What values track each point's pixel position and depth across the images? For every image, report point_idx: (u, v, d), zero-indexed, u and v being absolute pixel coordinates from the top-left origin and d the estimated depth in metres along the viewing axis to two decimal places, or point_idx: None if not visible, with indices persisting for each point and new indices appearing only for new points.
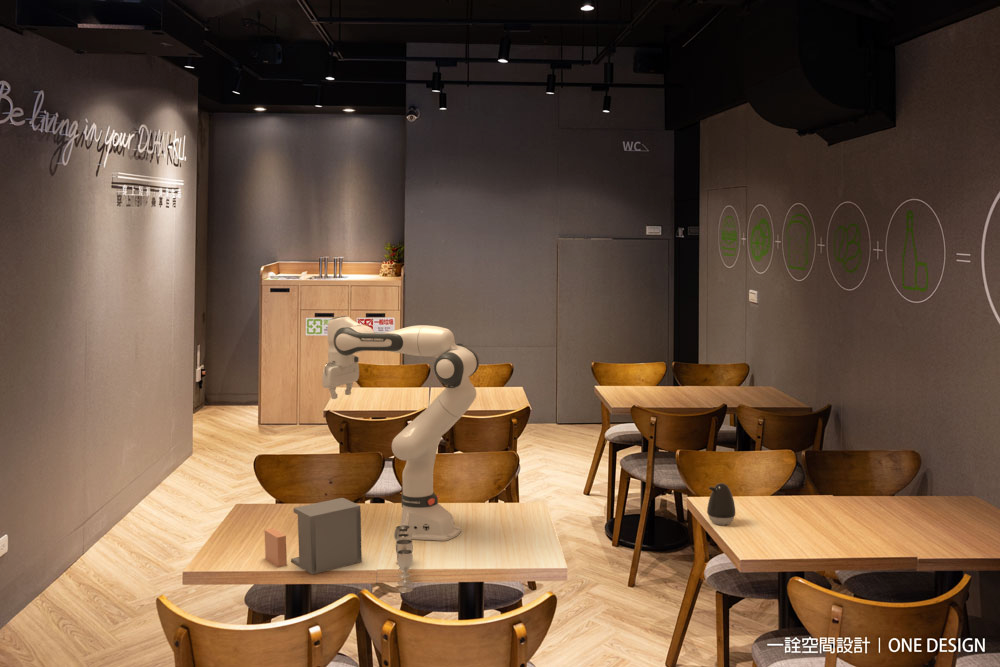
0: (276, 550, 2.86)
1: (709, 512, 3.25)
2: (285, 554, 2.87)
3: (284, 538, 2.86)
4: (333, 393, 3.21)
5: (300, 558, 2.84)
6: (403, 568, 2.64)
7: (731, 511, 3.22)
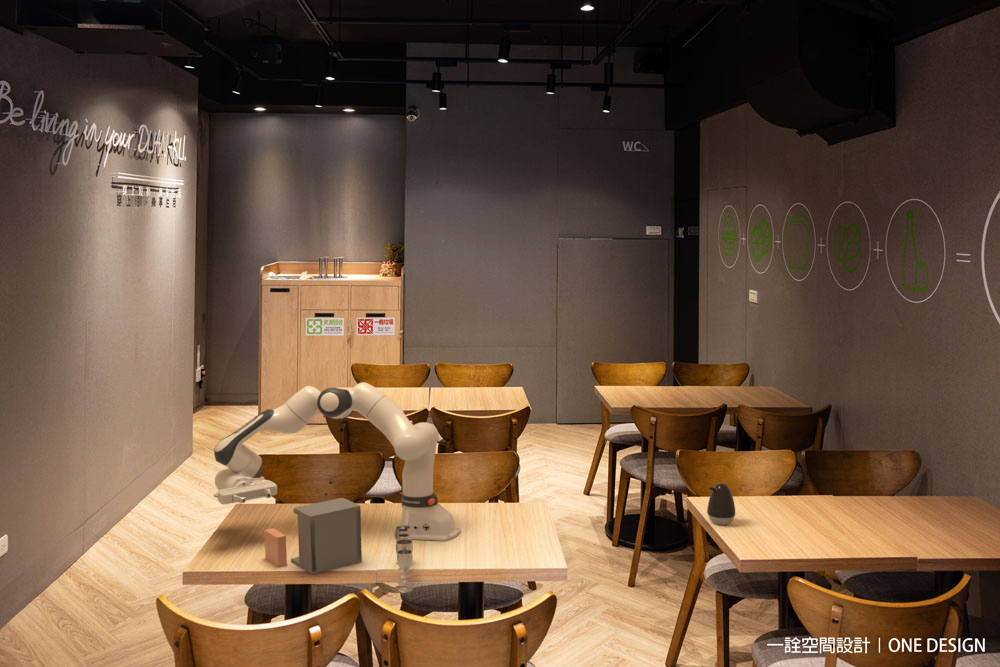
0: (276, 550, 2.86)
1: (709, 512, 3.25)
2: (285, 554, 2.87)
3: (284, 538, 2.86)
4: (237, 498, 2.97)
5: (300, 558, 2.84)
6: (403, 568, 2.64)
7: (731, 511, 3.22)
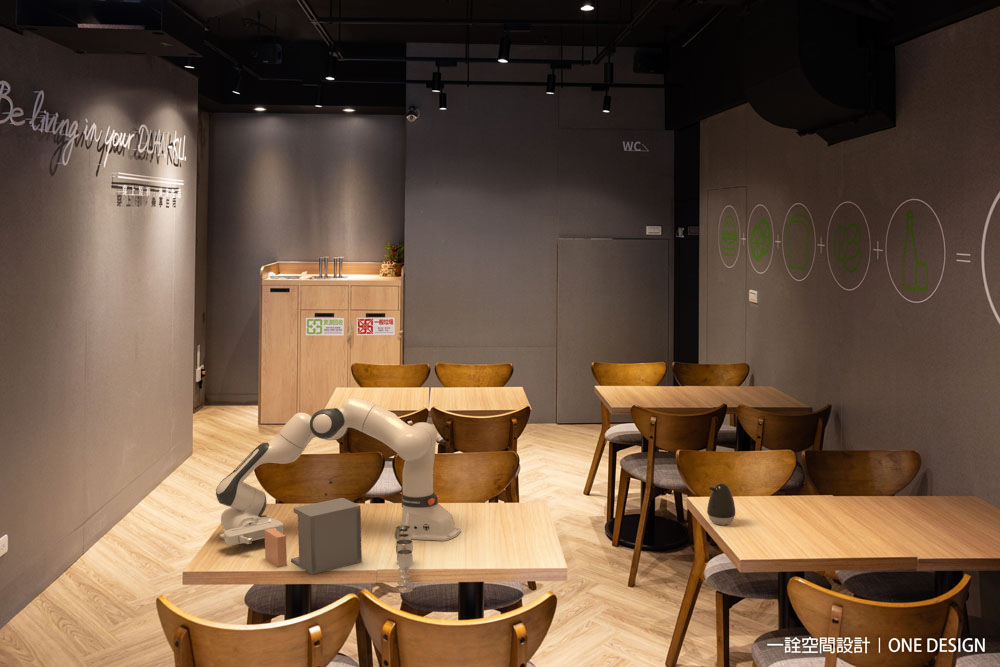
0: (276, 550, 2.86)
1: (709, 512, 3.25)
2: (285, 554, 2.87)
3: (284, 538, 2.86)
4: (244, 539, 2.96)
5: (300, 558, 2.84)
6: (403, 568, 2.64)
7: (731, 511, 3.22)
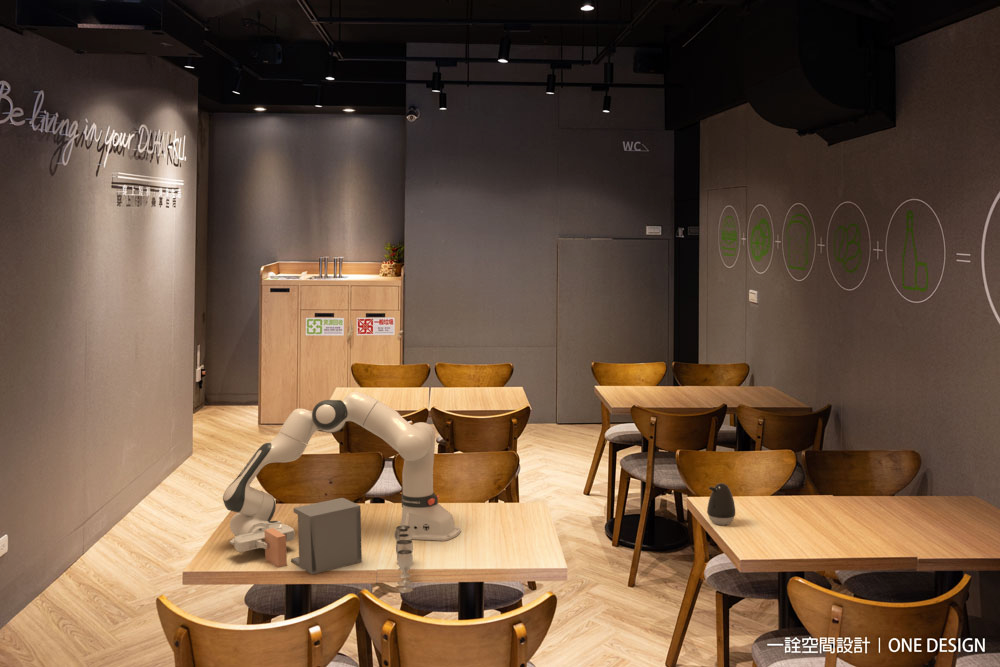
0: (276, 550, 2.86)
1: (709, 512, 3.25)
2: (285, 553, 2.87)
3: (284, 538, 2.86)
4: (262, 544, 2.90)
5: (300, 558, 2.84)
6: (403, 568, 2.64)
7: (731, 511, 3.22)
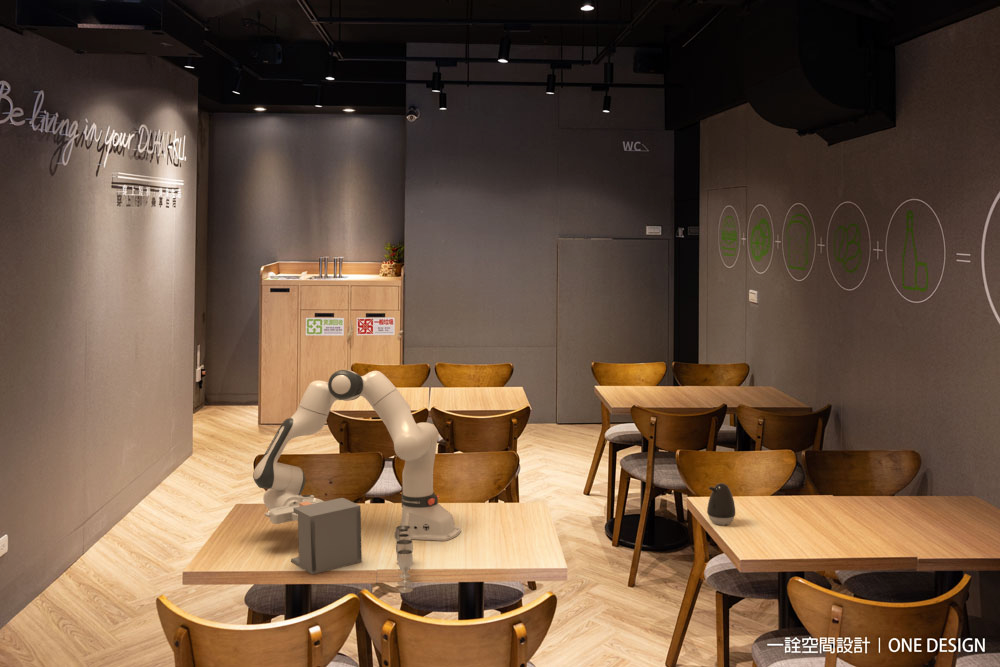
0: None
1: (709, 512, 3.25)
2: None
3: None
4: (297, 517, 2.98)
5: (300, 558, 2.84)
6: (403, 568, 2.64)
7: (731, 511, 3.22)
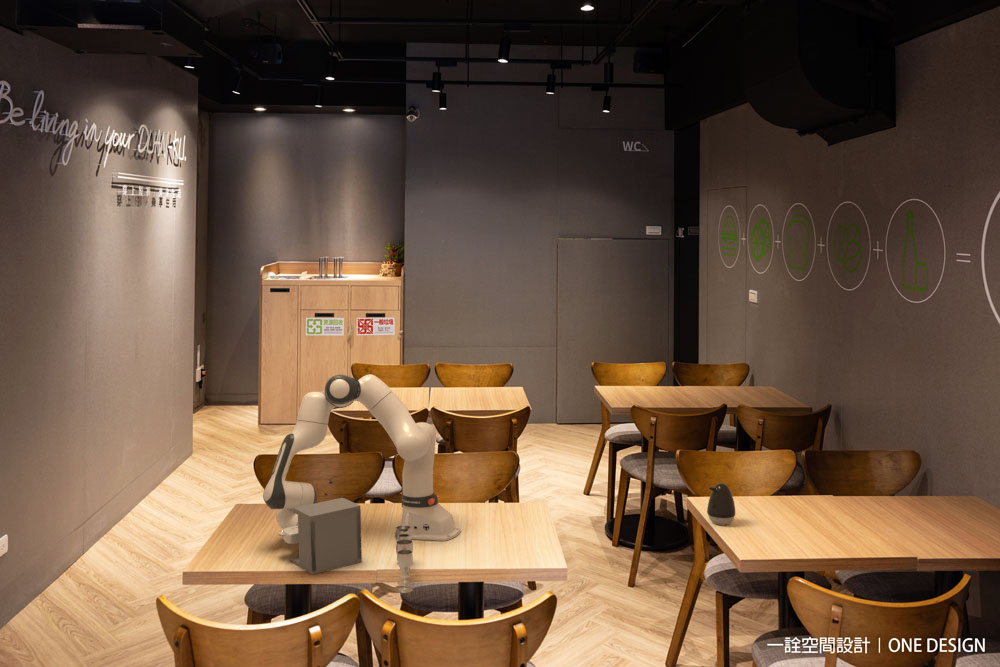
0: None
1: (709, 512, 3.25)
2: None
3: None
4: None
5: (300, 558, 2.84)
6: (403, 568, 2.64)
7: (731, 511, 3.22)
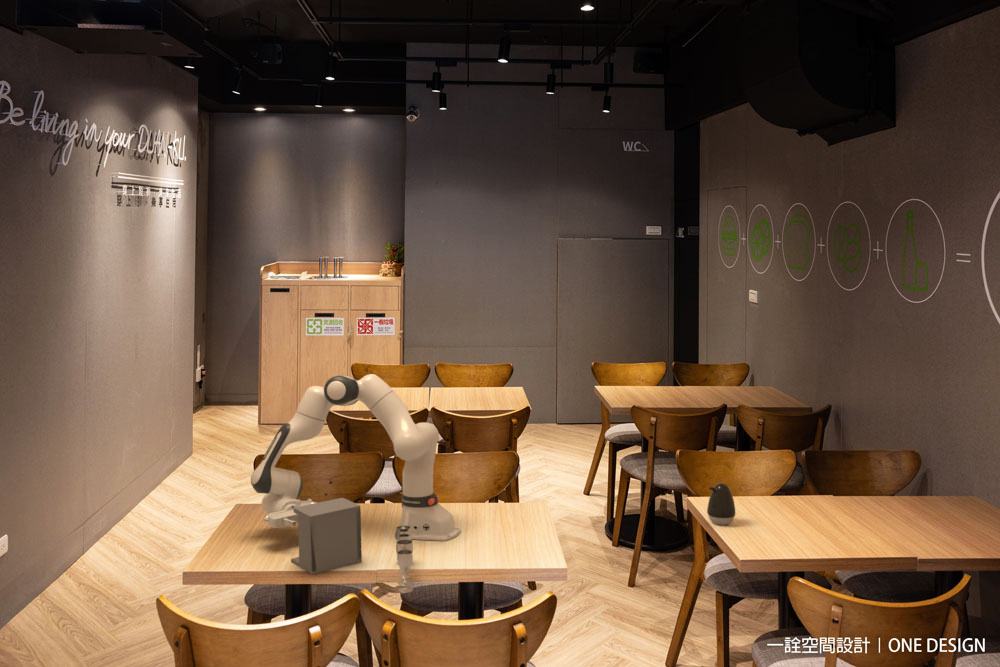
0: None
1: (709, 512, 3.25)
2: None
3: None
4: (288, 522, 2.98)
5: (300, 558, 2.84)
6: (403, 568, 2.64)
7: (731, 511, 3.22)
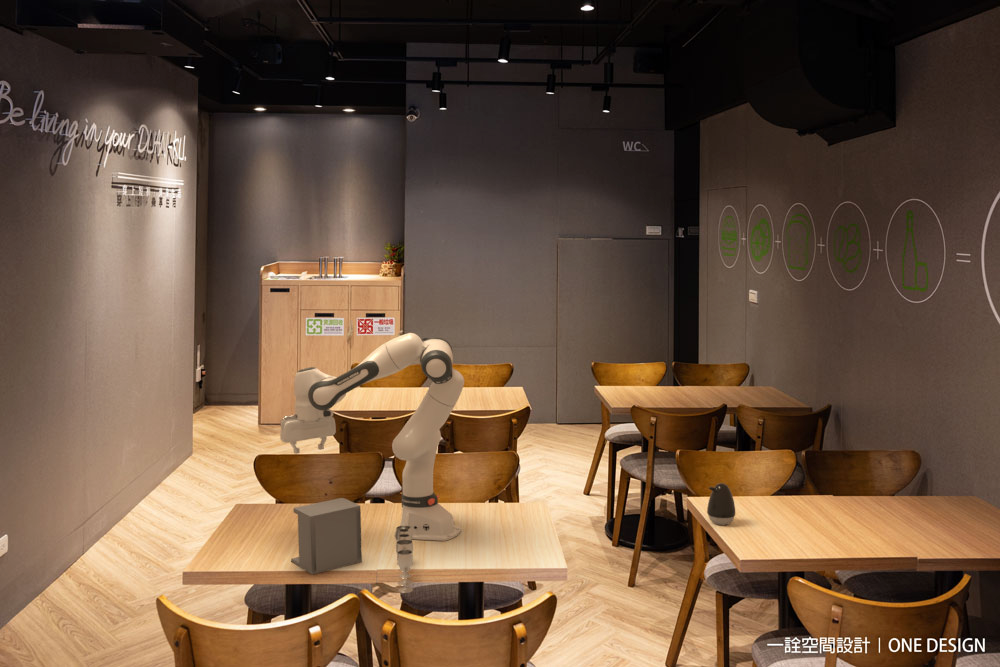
0: None
1: (709, 512, 3.25)
2: None
3: None
4: (294, 448, 3.09)
5: (300, 558, 2.84)
6: (403, 568, 2.64)
7: (731, 511, 3.22)
